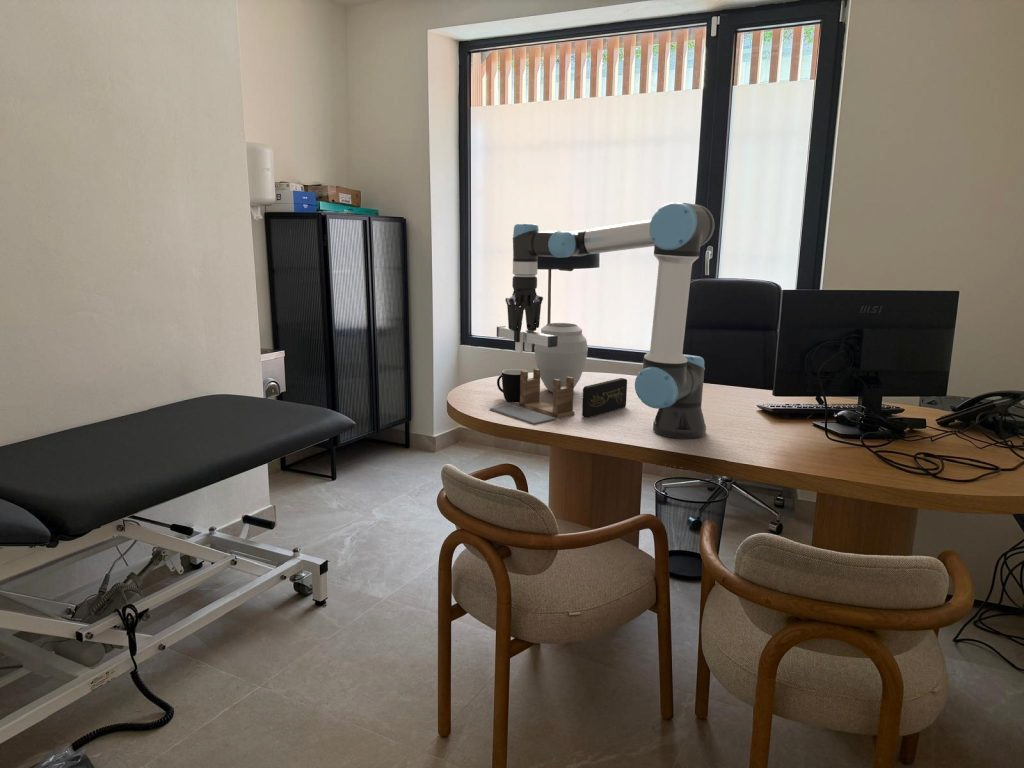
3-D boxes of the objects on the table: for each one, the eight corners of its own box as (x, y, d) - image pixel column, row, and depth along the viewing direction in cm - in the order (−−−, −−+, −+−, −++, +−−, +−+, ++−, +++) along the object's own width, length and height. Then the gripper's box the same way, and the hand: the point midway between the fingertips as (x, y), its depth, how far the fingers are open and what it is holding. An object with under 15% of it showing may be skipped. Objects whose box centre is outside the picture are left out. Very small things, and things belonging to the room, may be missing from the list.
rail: (557, 346, 206) (557, 335, 205) (549, 347, 204) (549, 336, 203) (504, 335, 225) (504, 326, 224) (496, 336, 223) (496, 326, 222)
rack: (574, 415, 221) (575, 378, 218) (559, 418, 217) (560, 380, 214) (533, 402, 236) (534, 368, 233) (518, 405, 232) (519, 370, 229)
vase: (554, 382, 268) (556, 320, 262) (596, 390, 255) (599, 325, 250) (522, 391, 253) (523, 324, 248) (565, 399, 241) (567, 330, 236)
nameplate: (621, 406, 233) (622, 377, 231) (625, 407, 232) (627, 378, 230) (581, 417, 219) (582, 386, 216) (586, 418, 217) (587, 387, 215)
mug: (532, 400, 240) (533, 371, 238) (517, 405, 233) (517, 375, 231) (505, 394, 247) (505, 367, 245) (489, 399, 240) (489, 370, 238)
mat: (556, 420, 215) (556, 418, 215) (534, 424, 209) (534, 422, 209) (511, 406, 231) (511, 404, 231) (490, 410, 226) (490, 408, 226)
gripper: (536, 274, 219) (535, 347, 224) (496, 275, 209) (495, 352, 214) (552, 275, 213) (550, 351, 218) (512, 277, 203) (511, 356, 208)
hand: (523, 351), depth 216 cm, fingers closed on rail, 3 cm apart
